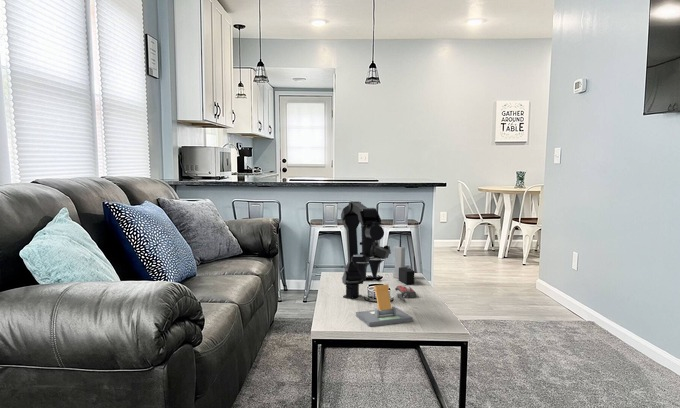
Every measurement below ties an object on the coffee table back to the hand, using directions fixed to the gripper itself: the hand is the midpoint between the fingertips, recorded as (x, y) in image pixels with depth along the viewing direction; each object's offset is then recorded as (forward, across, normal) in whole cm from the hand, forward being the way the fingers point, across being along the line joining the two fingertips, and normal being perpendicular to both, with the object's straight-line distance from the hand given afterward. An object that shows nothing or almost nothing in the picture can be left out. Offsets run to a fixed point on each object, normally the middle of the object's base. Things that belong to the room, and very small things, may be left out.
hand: (369, 278), depth 178 cm
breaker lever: (+12, -3, -8) cm, 15 cm away
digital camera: (+9, +56, +7) cm, 58 cm away
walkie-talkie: (+12, +32, -2) cm, 34 cm away
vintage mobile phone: (+8, +63, +15) cm, 66 cm away
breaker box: (+15, -2, -7) cm, 16 cm away
